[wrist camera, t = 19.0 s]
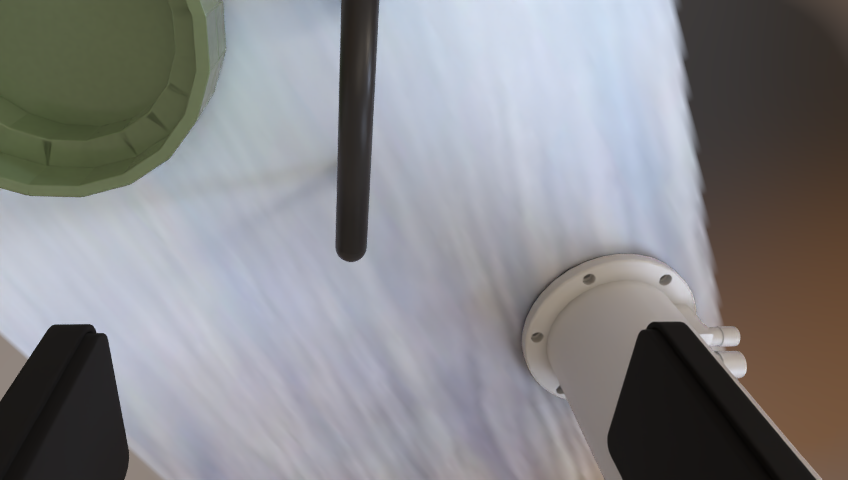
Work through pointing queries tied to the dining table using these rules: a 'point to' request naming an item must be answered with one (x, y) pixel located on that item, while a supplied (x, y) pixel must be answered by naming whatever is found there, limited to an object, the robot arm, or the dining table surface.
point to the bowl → (101, 88)
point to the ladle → (355, 124)
